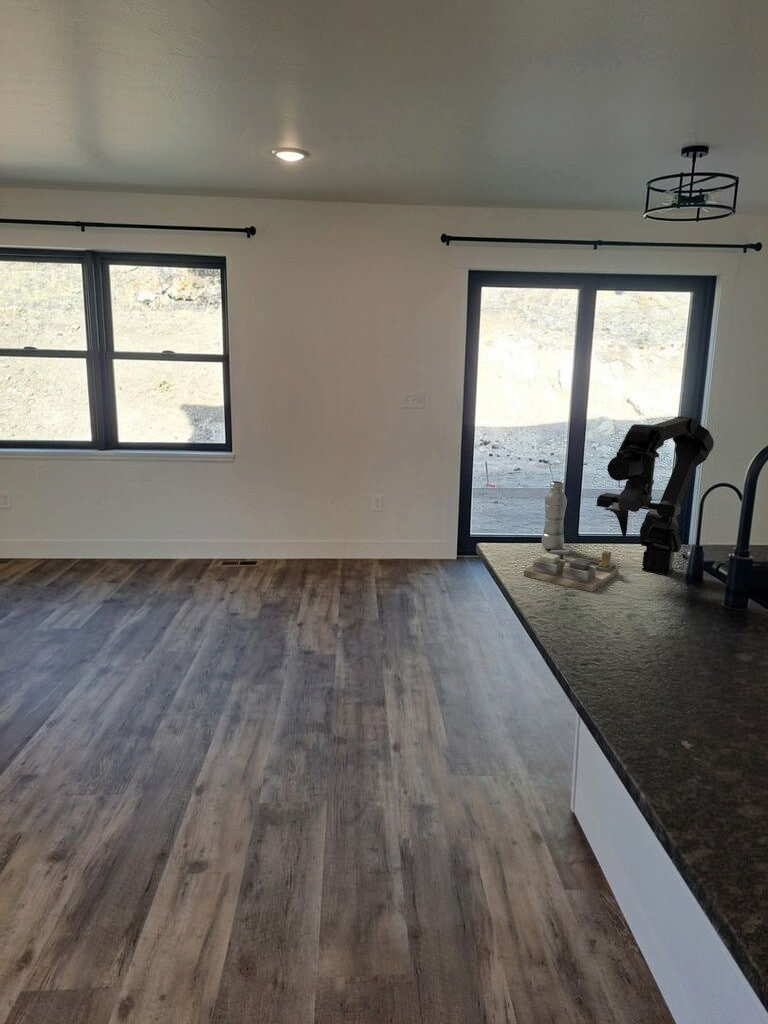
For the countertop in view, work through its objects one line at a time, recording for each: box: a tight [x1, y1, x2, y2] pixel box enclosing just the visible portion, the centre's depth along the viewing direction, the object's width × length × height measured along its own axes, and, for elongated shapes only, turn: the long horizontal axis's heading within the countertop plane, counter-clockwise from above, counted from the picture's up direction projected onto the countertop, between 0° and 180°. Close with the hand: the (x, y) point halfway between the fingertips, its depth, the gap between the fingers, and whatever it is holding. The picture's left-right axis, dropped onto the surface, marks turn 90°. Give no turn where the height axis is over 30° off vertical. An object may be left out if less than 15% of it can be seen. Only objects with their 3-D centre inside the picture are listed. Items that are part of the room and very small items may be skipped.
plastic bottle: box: [541, 480, 568, 551], centre depth 187 cm, size 6×7×20 cm
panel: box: [523, 554, 620, 593], centre depth 166 cm, size 18×18×4 cm
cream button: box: [539, 552, 560, 564], centre depth 164 cm, size 4×4×2 cm
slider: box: [598, 550, 614, 569], centre depth 166 cm, size 3×2×4 cm
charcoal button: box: [570, 558, 590, 571], centre depth 159 cm, size 4×4×2 cm
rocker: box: [547, 549, 573, 555], centre depth 174 cm, size 6×3×1 cm, turn 51°
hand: (634, 538), depth 160 cm, fingers open, 5 cm apart
